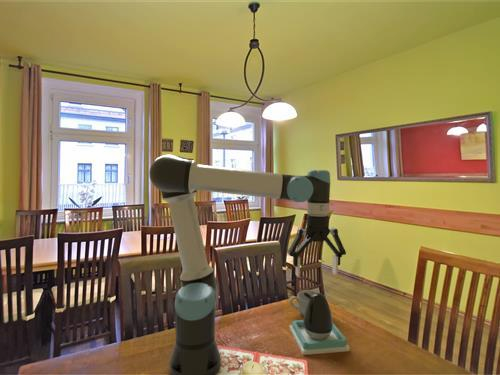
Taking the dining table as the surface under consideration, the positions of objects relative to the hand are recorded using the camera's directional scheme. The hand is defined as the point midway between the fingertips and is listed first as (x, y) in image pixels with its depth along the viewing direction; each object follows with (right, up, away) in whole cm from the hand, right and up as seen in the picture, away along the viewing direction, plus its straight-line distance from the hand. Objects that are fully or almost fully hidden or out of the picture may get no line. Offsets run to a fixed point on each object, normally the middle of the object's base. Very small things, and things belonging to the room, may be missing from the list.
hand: (316, 275), depth 101 cm
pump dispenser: (+1, -22, +1) cm, 22 cm away
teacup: (0, -22, +19) cm, 29 cm away
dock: (+1, -23, +1) cm, 23 cm away
